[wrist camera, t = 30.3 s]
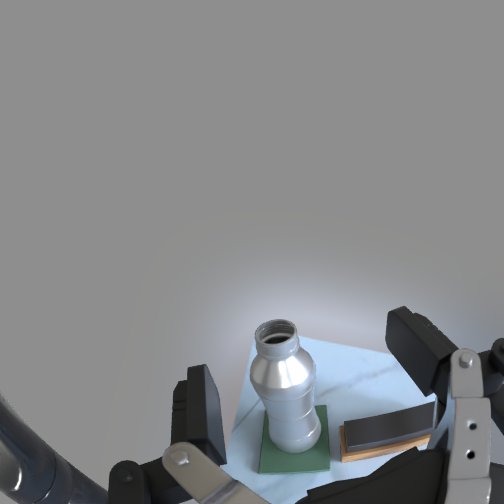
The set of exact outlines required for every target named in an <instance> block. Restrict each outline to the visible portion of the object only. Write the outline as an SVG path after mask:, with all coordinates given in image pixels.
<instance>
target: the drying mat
mask: <svg viewBox="0 0 504 504" xmlns="http://www.w3.org/2000/svg"><path fill="white" fill-rule="evenodd" d="M314 407H315V411H316V414H317V416H318V418H319V421H320V424H321V434H320V437H319V439H318V441H317V443H316V444H315V445H314V446H313V447H312V448H310V449H308V450H306V451H304V452H300V453H288V452H284V451H282V450H280V449H279V448H278V447H277V446H276V445H275V444H274V443H273V442H272V441H271V438H270V435H269V419H268V414H267V411H266V410H265V419H264V428H263V438H262V447H261V456H260V464H259V474H295V473H310V472H321V471H330V455H329V437H328V422H327V409H326V405H320V406H314Z"/></svg>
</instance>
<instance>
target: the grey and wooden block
mask: <svg viewBox="0 0 504 504" xmlns="http://www.w3.org/2000/svg"><path fill="white" fill-rule="evenodd" d="M434 406H435V401H433V402H430V403H427V404H423V405H420V406H416V407H412V408H408V409H405V410H400V411H396V412H392V413H388V414H383V415H378V416H373V417H368V418H362V419H357V420H350V421H344V426H340V427H339V438H340V449H341V462H342V463H343V462H350V461H356V460H362V459H367V458H373V457H377V456H382V455H387V454H391V453H395V452H399V451H403V450H407V449H410V448H412V447H414V446H416V447H417V446H421V445H424V444H427V443H428V442H429V440H430V437H431V432H432V425H433V416H434Z"/></svg>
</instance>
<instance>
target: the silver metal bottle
mask: <svg viewBox="0 0 504 504" xmlns="http://www.w3.org/2000/svg"><path fill="white" fill-rule="evenodd" d="M255 340H256V349H257V353H258V354H257V356H256V357H255V359H254V360H253V362H252V364H251V369H250V381H251V383H252V385H253V387H254V389H255V391H256V392H257V394H258V396H259V397H260V399H261V401H262V402H263V404H264V407H265V409H266V411H267V414H268V419H269V435H270V438H271V441H272V442H273V443H274V444H275V445H276V446H277V447H278V448H279V449H280V450H282V451H284V452H288V453H300V452H304V451H306V450H308V449H310V448H312V447H313V446H314V445H315V444H316V443H317V441H318V439H319V437H320V434H321V424H320V421H319V418H318V416H317V414H316V411H315V407H314V387H315V379H316V365H315V363H314V361H313V359H312V357H311V356H310V354H309V353H308V352H307V351H305V350H304V349H303V348H301V347H300V344H299V338H298V336H297V329H296V327H295V325H294V324H293V323H292V322H290V321H287V320H282V319H277V320H271V321H268V322H266V323H263V324H262V325H260V326H259V327H258V328H257V330H256V332H255Z"/></svg>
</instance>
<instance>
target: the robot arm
mask: <svg viewBox="0 0 504 504" xmlns="http://www.w3.org/2000/svg"><path fill="white" fill-rule="evenodd" d="M385 340H386V344H387V347H388V349H389V350H390V352H391V353H392V354H393V355H394V357H395V358H396V359H397V360H398V362H399V363H400V364H401V366H402V367H403V368H404V369H405V371H406V372H407V373H408V375H409V376H410V377H411V378H412V380H413V381H414V382H415V384H416V385H417V386H418V388H419V389H420V390H421V392H422V393H423V394H424V396H425V397H427V396H429V395H430V394H432V393H435V394H436V398H435V406H434V416H433V425H432V432H431V437H430V440H429V442H428V445H427V449H425V450H420V451H419V450H418V449H417V447H416V446H414V447H412V448H411V449H409V450H407V451H405V452H403V453H401V454H399V455H397V456H395V457H393V458H391V459H390V460H389V461H387V462H386V463H385V464H384V465H382V466H381V467H380V468H378V469H377V470H376V471H374V472H373V473H371V474H370V475H368V476H365V477H360V478H354V479H348V480H341V481H335V482H332V483H329V484H326V485H323V486H320V487H316V488H313V489H310V490H307V494H308V496H306V497H304V498H302V499H300V500H299V501H297V502H296V503H295V504H504V465H501V464H497V463H492V462H490V449H491V418H492V419H493V421H494V422H495V423H496V425H497V427H498V428H499V429H500V431H501V432H502V434H503V435H504V384H503V382H504V338H500V339H497V340H496V341H495V342H494V343H493V346H492V348H491V350H488V351H485V352H481V353H476V352H475V351H473V350H471V349H467V348H462V349H459V348H458V347H457V346H456V345H455V344H453V343H452V342H451V341H450V340H449V339H448V338H447V337H446V336H445V335H444V334H443V333H442V332H441V331H440V330H438V328H437V327H436V326H435V325H433V324H432V322H430V321H429V320H428V319H427V318H426V317H424V316H422V315H420V314H418V313H414V314H413V313H412V312H411V311H410V310H409V309H407V307H405V306H402V307H399V308H397V309H394V310H392V311H389V312H388V316H387V326H386V336H385ZM172 410H173V412H172V426H171V428H172V429H171V444H170V447H168V448H167V449H166V450H165V452H164V454H163V456H162V457H160V458H158V459H156V460H153V461H151V462H148V463H145V464H142V465H138V464H137V463H135V462H133V461H128V460H126V461H121V462H119V463H117V464H116V465H114V467H113V468H112V469H111V471H110V475H109V489H108V491H107V490H105V489H104V488H102V487H101V486H99V485H98V484H97V483H95V482H94V481H92V480H91V479H90V478H88V477H87V476H85V475H84V474H83V473H81V472H80V471H79V470H78V469H76V468H75V467H74V466H73V465H71V464H70V463H69V462H68V461H66V460H65V459H64V458H63V457H62V456H60V455H59V454H58V453H57V452H55V450H53V449H52V448H51V447H50V446H49V445H48V444H47V443H46V442H45V441H44V440H42V439H41V438H40V437H39V436H38V435H37V434H36V433H35V432H34V430H33V429H32V428H31V427H30V426H29V425H28V424H27V423H26V421H25V420H24V419H23V418H22V417H21V416H20V415H19V414H18V413H17V411H16V410H15V409H14V408H13V407H12V406H11V405H10V403H9V402H8V401H7V399H6V398H5V397H4V395H3V394H2V393H1V391H0V491H1V492H2V493H4V494H5V495H6V496H8V497H9V498H11V499H12V500H14V501H15V502H17V503H19V504H179V503H182V502H185V501H188V500H190V499H193V498H194V499H195V500H196V501H197V502H198V503H199V504H271V503H269V502H268V501H266V500H265V499H263V498H262V497H261V496H259V495H258V494H256V493H255V492H253V491H252V490H251V489H249V488H248V487H247V486H245V485H244V484H242V483H241V482H240V481H238V480H235V479H233V478H232V477H231V476H229V475H228V474H227V473H226V472H225V471H223V470H222V469H221V468H220V465H224V464H227V460H226V452H225V444H224V435H223V426H222V417H221V407H220V398H219V393H218V390H217V387H216V385H215V383H214V381H213V378H212V376H211V374H210V371H209V369H208V367H207V365H206V364H203V365H198V366H192V367H188V372H187V380H184V381H179V382H178V384H177V386H176V388H175V390H174V391H173V407H172Z"/></svg>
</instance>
